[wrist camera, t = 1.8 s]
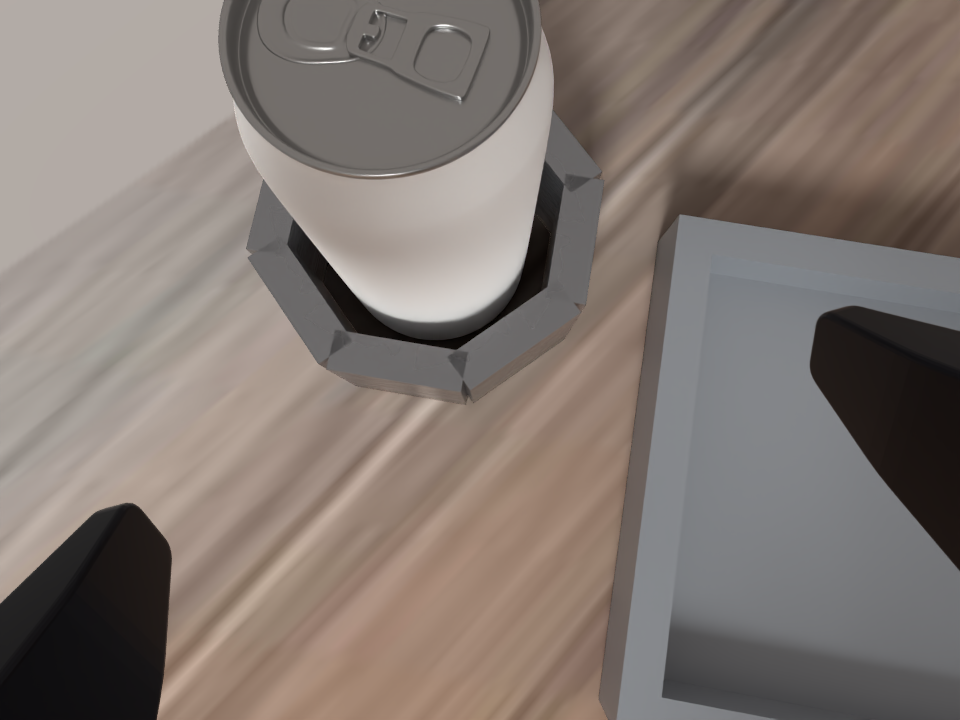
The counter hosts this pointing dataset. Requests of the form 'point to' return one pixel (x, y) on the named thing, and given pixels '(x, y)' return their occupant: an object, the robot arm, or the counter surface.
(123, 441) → the counter surface
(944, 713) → the tray
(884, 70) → the counter surface
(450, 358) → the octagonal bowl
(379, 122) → the can
